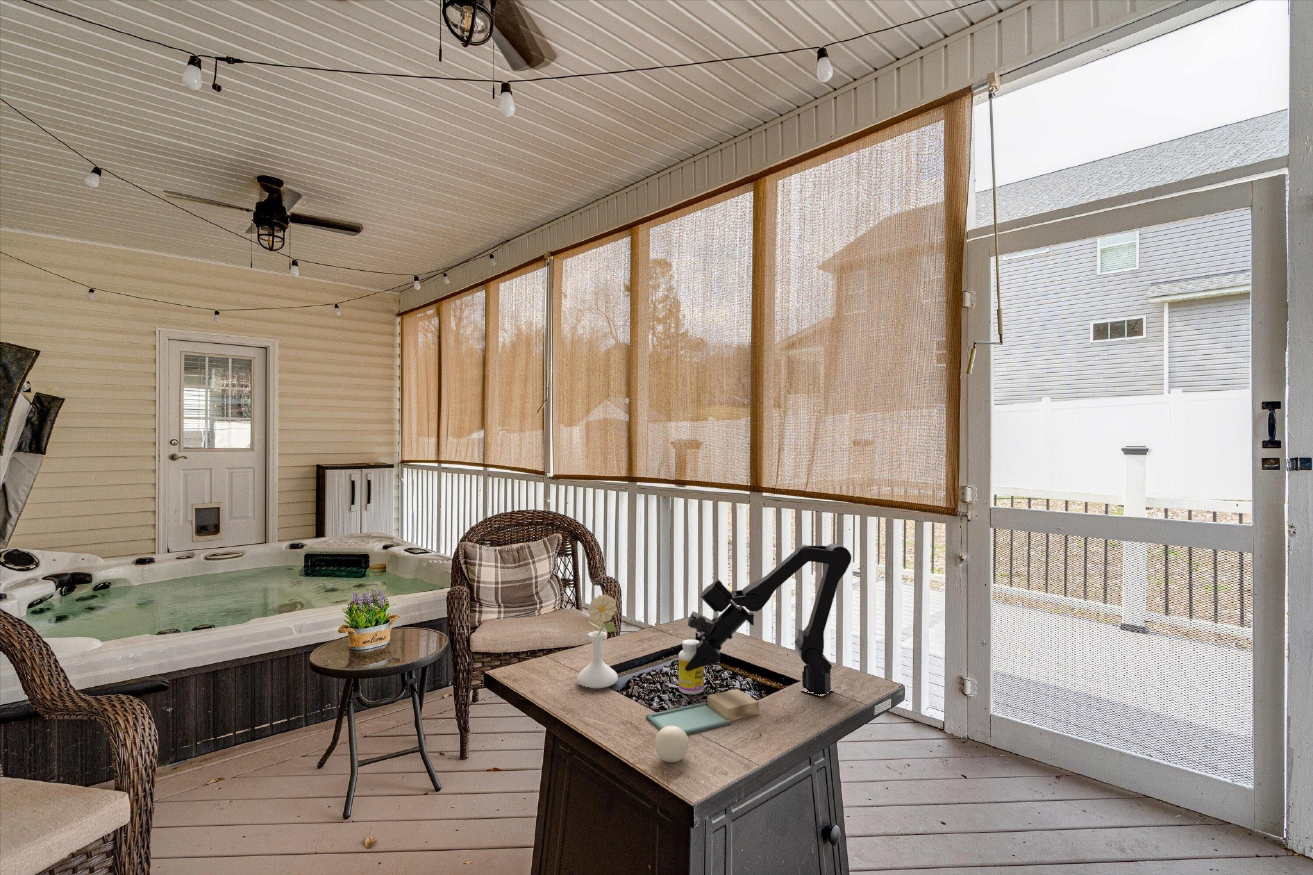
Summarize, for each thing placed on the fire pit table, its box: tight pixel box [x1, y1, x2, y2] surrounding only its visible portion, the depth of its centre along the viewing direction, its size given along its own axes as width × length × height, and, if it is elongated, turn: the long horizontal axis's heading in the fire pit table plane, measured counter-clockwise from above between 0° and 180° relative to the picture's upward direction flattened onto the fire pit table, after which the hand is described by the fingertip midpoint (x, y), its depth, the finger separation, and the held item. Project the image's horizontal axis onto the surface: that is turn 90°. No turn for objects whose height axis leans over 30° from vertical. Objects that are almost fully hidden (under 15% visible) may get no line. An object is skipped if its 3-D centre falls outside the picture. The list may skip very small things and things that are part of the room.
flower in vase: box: [576, 593, 619, 689], centre depth 168 cm, size 13×11×25 cm
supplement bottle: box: [678, 639, 705, 695], centre depth 164 cm, size 7×7×13 cm
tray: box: [645, 702, 731, 736], centre depth 145 cm, size 16×12×1 cm
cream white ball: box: [654, 726, 690, 763], centre depth 127 cm, size 7×7×7 cm
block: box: [706, 688, 760, 722], centre depth 151 cm, size 9×9×3 cm
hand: (685, 665), depth 164 cm, fingers closed on supplement bottle, 7 cm apart
